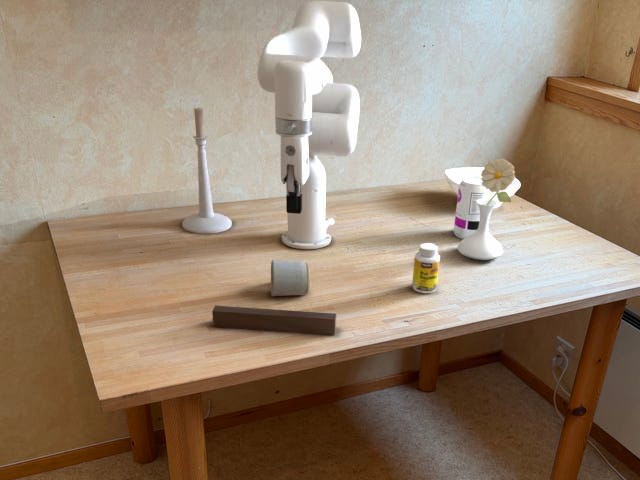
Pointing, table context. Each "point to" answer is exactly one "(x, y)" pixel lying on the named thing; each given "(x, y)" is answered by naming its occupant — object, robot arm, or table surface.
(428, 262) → the supplement bottle
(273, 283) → the ceramic mug
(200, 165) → the candlestick
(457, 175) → the bowl
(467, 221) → the supplement can
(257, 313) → the board
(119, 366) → the table surface
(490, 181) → the flower in vase
